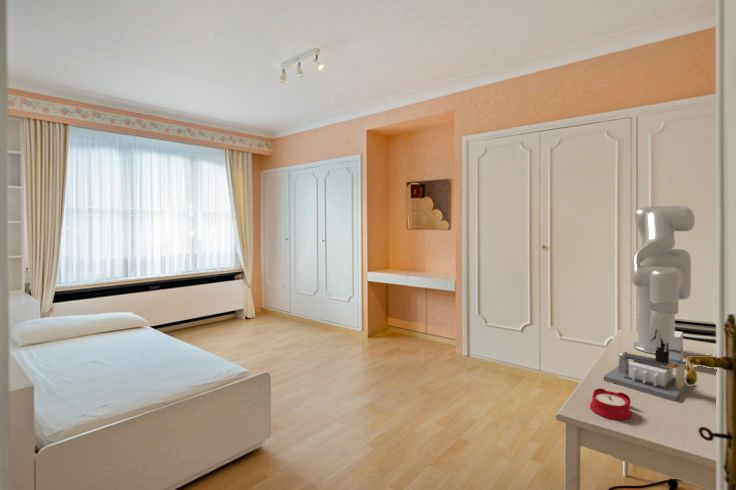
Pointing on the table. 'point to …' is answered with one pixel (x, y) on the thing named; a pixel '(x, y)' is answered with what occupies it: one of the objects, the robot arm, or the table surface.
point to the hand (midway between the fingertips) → (662, 361)
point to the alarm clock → (611, 404)
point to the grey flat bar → (647, 360)
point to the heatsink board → (644, 387)
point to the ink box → (676, 348)
